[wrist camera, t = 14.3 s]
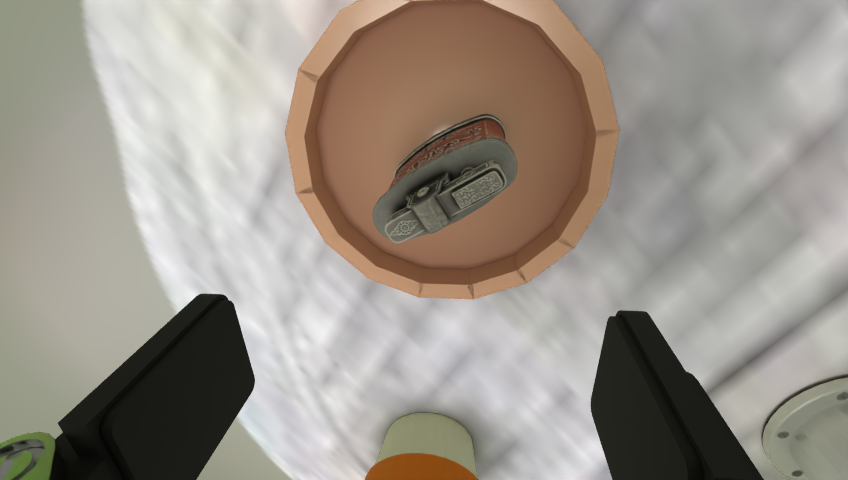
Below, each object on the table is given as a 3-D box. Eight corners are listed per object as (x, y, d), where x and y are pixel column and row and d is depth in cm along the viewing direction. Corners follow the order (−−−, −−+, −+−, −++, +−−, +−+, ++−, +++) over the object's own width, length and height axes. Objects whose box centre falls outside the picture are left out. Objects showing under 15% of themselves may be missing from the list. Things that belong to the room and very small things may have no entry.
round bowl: (628, -29, 22) (650, -39, 19) (577, 280, 31) (587, 303, 28) (281, -12, 24) (257, -19, 22) (326, 273, 33) (313, 293, 30)
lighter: (412, 204, 29) (386, 278, 20) (385, 164, 28) (345, 223, 19) (515, 147, 26) (538, 202, 17) (490, 101, 25) (501, 133, 16)
